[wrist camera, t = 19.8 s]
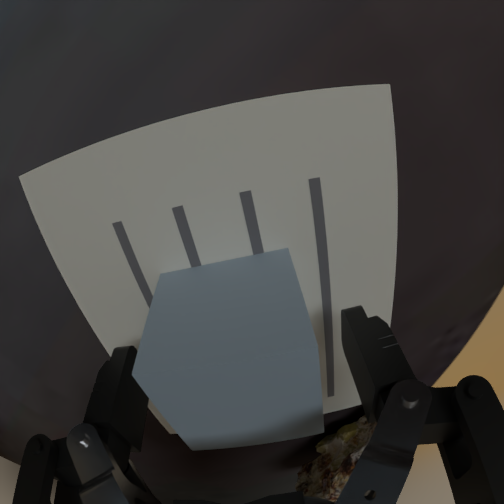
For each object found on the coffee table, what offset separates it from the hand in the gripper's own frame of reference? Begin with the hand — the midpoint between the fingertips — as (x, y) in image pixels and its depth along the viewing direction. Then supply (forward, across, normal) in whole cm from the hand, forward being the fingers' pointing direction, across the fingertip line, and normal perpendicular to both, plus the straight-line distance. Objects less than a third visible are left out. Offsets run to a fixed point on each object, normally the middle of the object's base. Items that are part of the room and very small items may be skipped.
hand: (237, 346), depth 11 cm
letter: (+2, 0, +1) cm, 2 cm away
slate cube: (+2, 0, 0) cm, 2 cm away
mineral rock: (-4, -3, +11) cm, 12 cm away
